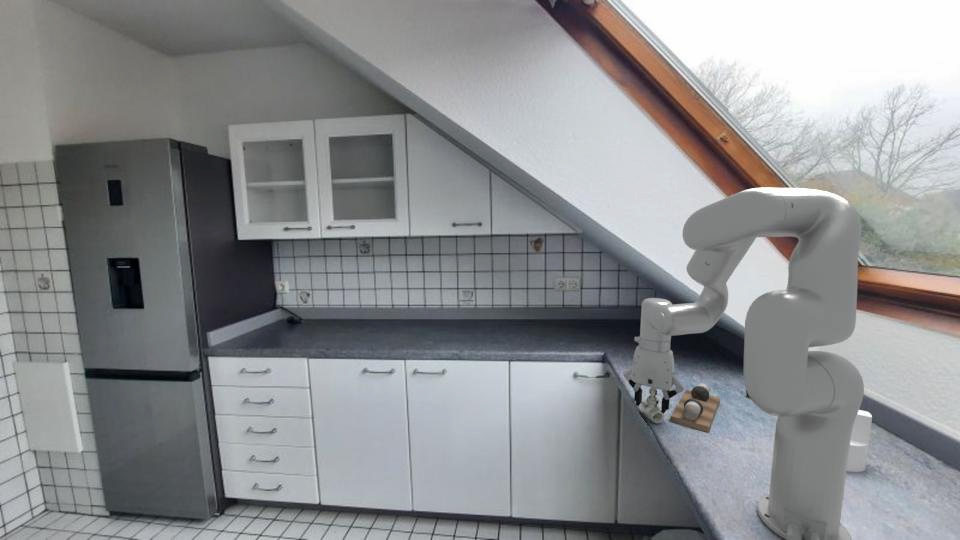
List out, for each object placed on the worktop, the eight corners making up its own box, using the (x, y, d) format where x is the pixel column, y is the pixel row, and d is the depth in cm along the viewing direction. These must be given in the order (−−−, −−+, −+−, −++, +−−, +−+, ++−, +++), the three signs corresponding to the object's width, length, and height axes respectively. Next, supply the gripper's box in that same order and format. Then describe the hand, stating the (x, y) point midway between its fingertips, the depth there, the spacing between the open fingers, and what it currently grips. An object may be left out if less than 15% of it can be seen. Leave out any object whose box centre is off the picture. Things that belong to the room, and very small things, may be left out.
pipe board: (708, 432, 96) (710, 411, 96) (670, 421, 102) (671, 401, 101) (719, 402, 113) (721, 384, 112) (686, 394, 118) (687, 377, 118)
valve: (657, 412, 107) (660, 371, 105) (669, 424, 100) (672, 381, 99) (634, 412, 107) (636, 372, 105) (645, 424, 100) (647, 381, 99)
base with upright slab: (814, 462, 84) (820, 412, 83) (808, 443, 92) (812, 396, 90) (871, 477, 79) (878, 423, 78) (859, 455, 87) (865, 406, 85)
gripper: (617, 341, 104) (615, 403, 106) (687, 355, 93) (683, 423, 95) (626, 335, 110) (623, 394, 112) (693, 347, 99) (688, 412, 101)
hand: (651, 407), depth 104 cm, fingers closed on valve, 5 cm apart
